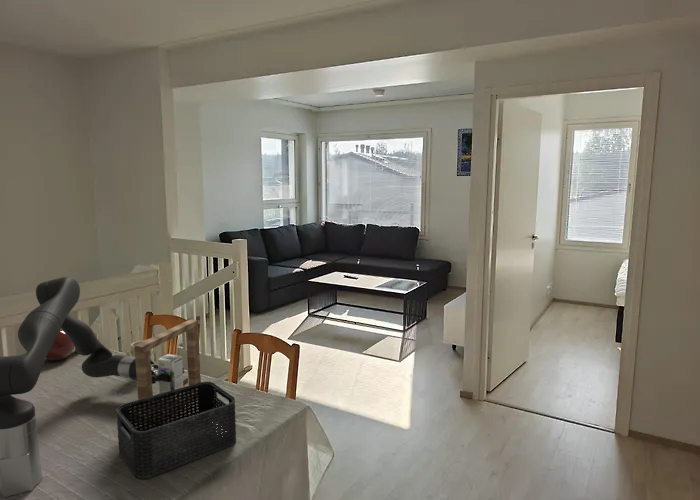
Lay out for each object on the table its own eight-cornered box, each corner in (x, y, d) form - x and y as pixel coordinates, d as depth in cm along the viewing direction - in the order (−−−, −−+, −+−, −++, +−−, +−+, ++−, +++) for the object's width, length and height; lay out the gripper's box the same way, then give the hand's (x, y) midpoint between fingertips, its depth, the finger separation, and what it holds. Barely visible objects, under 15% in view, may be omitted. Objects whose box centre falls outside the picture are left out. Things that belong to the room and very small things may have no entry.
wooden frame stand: (158, 425, 150) (153, 348, 146) (129, 420, 153) (123, 344, 149) (210, 387, 176) (207, 321, 172) (184, 383, 179) (181, 318, 175)
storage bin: (211, 418, 155) (209, 378, 153) (241, 443, 141) (239, 399, 138) (115, 451, 136) (112, 407, 134) (139, 484, 122) (135, 435, 120)
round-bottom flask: (74, 362, 199) (70, 315, 196) (37, 367, 193) (31, 319, 190) (77, 351, 211) (73, 307, 207) (41, 356, 205) (36, 310, 202)
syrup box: (159, 400, 162) (156, 359, 160) (170, 392, 168) (168, 352, 165) (173, 403, 161) (171, 361, 158) (184, 395, 166) (182, 355, 164)
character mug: (132, 383, 179) (129, 349, 177) (124, 377, 185) (122, 344, 182) (161, 374, 187) (159, 342, 185) (153, 369, 192) (151, 337, 190)
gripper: (119, 365, 160) (162, 372, 155) (149, 350, 173) (190, 356, 168) (120, 387, 161) (163, 394, 156) (150, 370, 174) (190, 377, 169)
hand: (177, 375), depth 162 cm, fingers closed on syrup box, 5 cm apart
